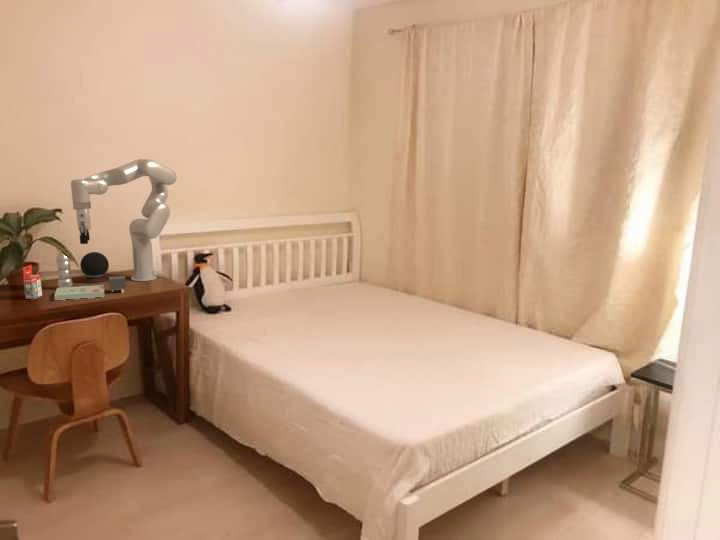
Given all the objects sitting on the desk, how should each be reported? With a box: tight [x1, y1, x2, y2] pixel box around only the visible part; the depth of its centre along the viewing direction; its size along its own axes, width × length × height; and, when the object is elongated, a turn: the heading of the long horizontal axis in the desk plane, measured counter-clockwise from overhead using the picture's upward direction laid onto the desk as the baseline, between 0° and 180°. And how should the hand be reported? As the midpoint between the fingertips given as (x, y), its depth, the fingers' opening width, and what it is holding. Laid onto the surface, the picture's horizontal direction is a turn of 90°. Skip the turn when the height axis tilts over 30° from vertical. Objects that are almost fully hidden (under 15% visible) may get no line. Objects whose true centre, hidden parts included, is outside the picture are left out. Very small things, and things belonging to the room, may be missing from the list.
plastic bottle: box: [55, 246, 74, 288], centre depth 268 cm, size 6×7×20 cm
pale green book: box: [53, 284, 105, 301], centre depth 258 cm, size 20×15×3 cm
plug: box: [108, 275, 127, 294], centre depth 265 cm, size 7×5×7 cm
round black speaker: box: [79, 251, 110, 284], centre depth 286 cm, size 13×13×15 cm
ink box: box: [22, 264, 43, 301], centre depth 251 cm, size 4×8×15 cm, turn 3°
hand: (85, 242), depth 265 cm, fingers open, 9 cm apart
